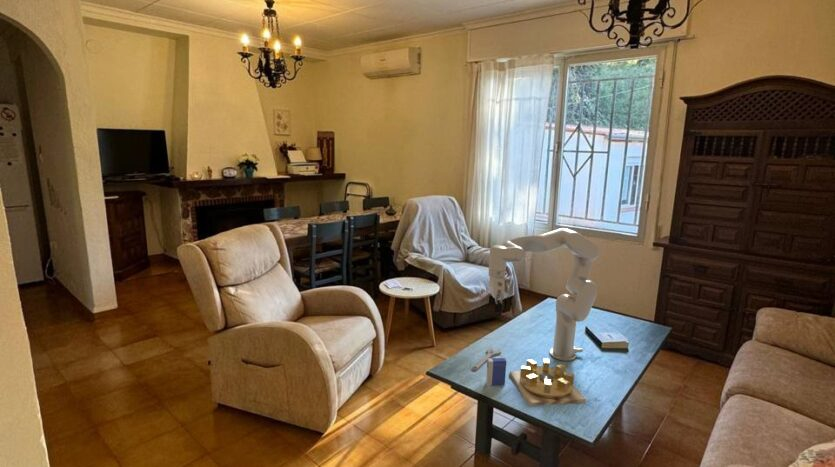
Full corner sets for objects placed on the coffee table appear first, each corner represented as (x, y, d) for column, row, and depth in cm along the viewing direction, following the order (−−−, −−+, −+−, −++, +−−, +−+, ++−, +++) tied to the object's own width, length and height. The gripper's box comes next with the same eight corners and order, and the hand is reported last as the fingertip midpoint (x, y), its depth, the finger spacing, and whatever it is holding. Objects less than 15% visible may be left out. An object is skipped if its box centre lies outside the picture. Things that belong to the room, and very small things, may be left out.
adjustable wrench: (475, 372, 203) (476, 369, 202) (464, 367, 207) (464, 364, 206) (502, 353, 221) (502, 349, 221) (491, 348, 225) (491, 345, 225)
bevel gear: (558, 369, 203) (559, 357, 201) (582, 397, 182) (583, 383, 180) (512, 372, 200) (513, 359, 198) (531, 400, 178) (532, 386, 177)
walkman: (502, 381, 195) (504, 357, 192) (504, 385, 192) (506, 360, 189) (485, 382, 194) (487, 357, 191) (487, 385, 191) (488, 360, 189)
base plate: (559, 371, 204) (559, 368, 204) (585, 402, 181) (585, 398, 181) (509, 374, 201) (509, 371, 201) (529, 405, 178) (530, 402, 177)
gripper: (511, 278, 192) (508, 314, 195) (499, 266, 208) (497, 300, 212) (494, 278, 191) (492, 315, 195) (484, 266, 208) (482, 301, 211)
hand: (494, 307), depth 203 cm, fingers open, 9 cm apart
